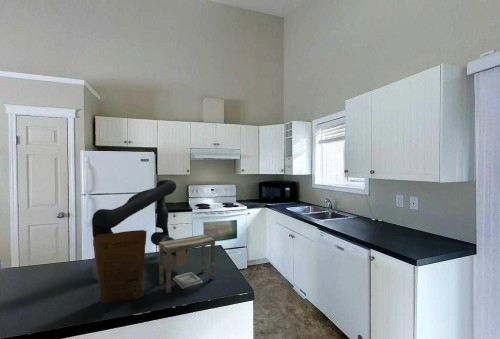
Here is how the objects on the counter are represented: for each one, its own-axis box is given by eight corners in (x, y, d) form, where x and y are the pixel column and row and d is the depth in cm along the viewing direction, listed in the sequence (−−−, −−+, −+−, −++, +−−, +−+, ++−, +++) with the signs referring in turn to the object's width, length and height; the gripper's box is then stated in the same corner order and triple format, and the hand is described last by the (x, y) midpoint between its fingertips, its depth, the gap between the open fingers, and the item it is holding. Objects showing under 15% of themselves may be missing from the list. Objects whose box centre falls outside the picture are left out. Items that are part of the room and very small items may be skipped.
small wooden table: (159, 283, 115) (159, 242, 115) (203, 270, 129) (203, 234, 129) (167, 293, 106) (167, 248, 106) (215, 279, 119) (215, 239, 120)
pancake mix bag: (145, 300, 100) (145, 231, 100) (91, 307, 95) (92, 234, 95) (147, 292, 106) (147, 227, 106) (97, 298, 101) (97, 230, 101)
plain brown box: (171, 263, 128) (171, 240, 128) (180, 260, 131) (180, 238, 131) (176, 267, 123) (176, 243, 123) (186, 265, 126) (185, 241, 126)
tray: (172, 279, 119) (172, 276, 119) (192, 274, 125) (192, 271, 125) (182, 288, 110) (182, 285, 110) (202, 282, 116) (202, 279, 116)
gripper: (156, 240, 134) (166, 248, 121) (181, 235, 143) (193, 242, 129) (156, 253, 134) (166, 263, 121) (181, 248, 143) (194, 257, 129)
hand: (180, 252), depth 125 cm, fingers closed on plain brown box, 5 cm apart
